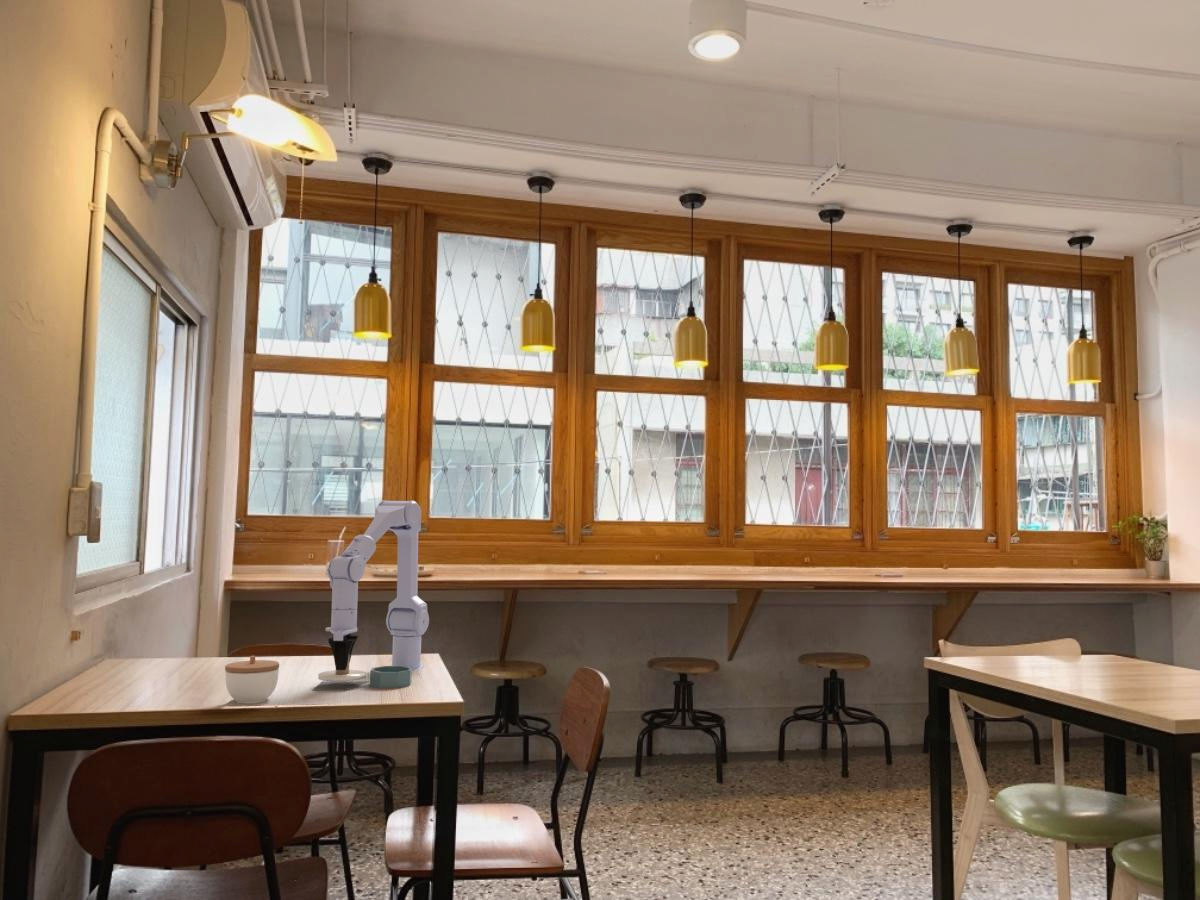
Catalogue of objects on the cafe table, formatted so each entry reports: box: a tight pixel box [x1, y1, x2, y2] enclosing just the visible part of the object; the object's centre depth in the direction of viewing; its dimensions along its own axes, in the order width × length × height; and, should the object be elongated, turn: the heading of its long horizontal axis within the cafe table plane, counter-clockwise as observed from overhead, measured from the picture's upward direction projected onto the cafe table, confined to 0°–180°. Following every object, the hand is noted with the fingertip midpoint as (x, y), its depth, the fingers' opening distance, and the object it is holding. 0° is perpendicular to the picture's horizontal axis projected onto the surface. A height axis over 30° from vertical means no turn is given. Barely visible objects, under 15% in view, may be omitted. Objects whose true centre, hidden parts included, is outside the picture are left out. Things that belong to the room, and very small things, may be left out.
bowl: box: [369, 665, 413, 689], centre depth 212 cm, size 9×9×4 cm
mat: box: [311, 680, 370, 692], centre depth 209 cm, size 11×11×1 cm
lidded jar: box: [224, 655, 280, 704], centre depth 193 cm, size 11×11×9 cm
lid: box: [317, 654, 367, 682], centre depth 210 cm, size 10×10×5 cm
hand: (342, 668), depth 210 cm, fingers closed on lid, 3 cm apart
